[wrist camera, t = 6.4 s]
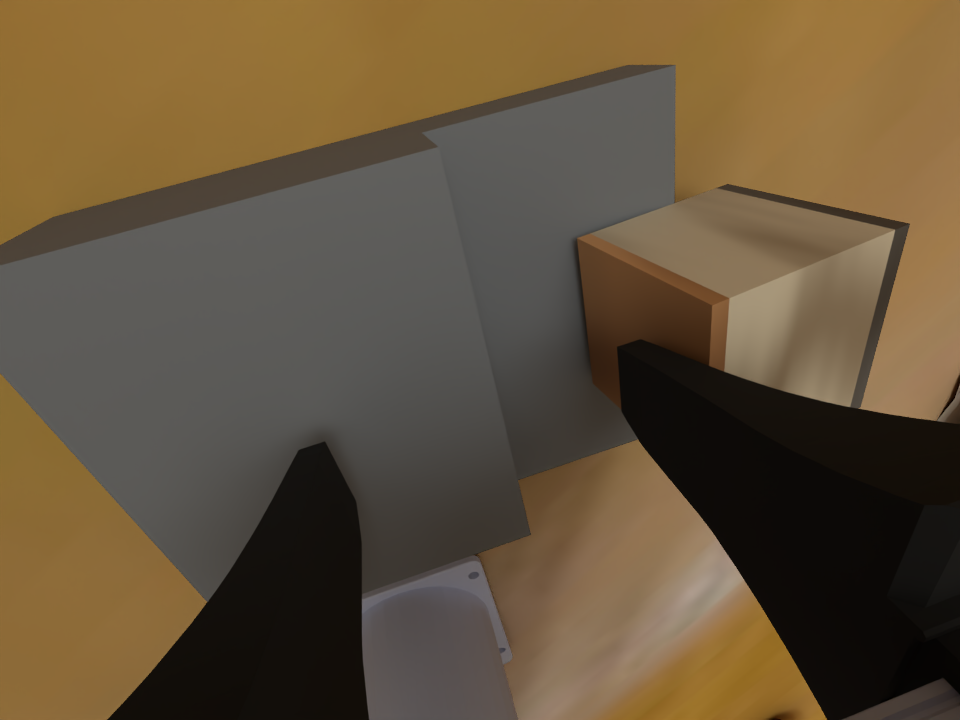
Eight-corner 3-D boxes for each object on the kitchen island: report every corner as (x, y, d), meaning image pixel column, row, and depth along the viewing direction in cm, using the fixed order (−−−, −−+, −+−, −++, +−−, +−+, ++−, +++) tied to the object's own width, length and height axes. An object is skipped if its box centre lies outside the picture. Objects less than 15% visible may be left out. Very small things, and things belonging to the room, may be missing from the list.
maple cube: (592, 383, 16) (718, 329, 17) (703, 484, 12) (860, 406, 13) (576, 238, 14) (727, 184, 14) (712, 305, 9) (909, 223, 10)
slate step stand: (640, 392, 21) (712, 470, 17) (259, 518, 19) (239, 637, 15) (628, 65, 14) (741, 64, 10) (52, 217, 13) (-79, 286, 9)
